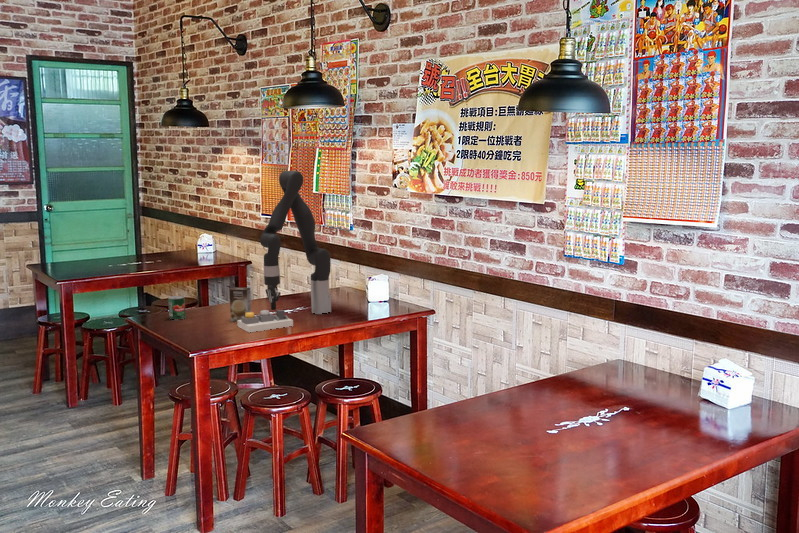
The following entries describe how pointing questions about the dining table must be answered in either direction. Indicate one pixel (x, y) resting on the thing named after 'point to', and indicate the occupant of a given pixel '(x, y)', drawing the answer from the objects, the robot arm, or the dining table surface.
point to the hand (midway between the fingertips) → (273, 309)
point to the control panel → (263, 323)
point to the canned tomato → (176, 307)
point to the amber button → (249, 315)
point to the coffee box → (239, 302)
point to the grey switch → (265, 313)
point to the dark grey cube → (280, 314)
